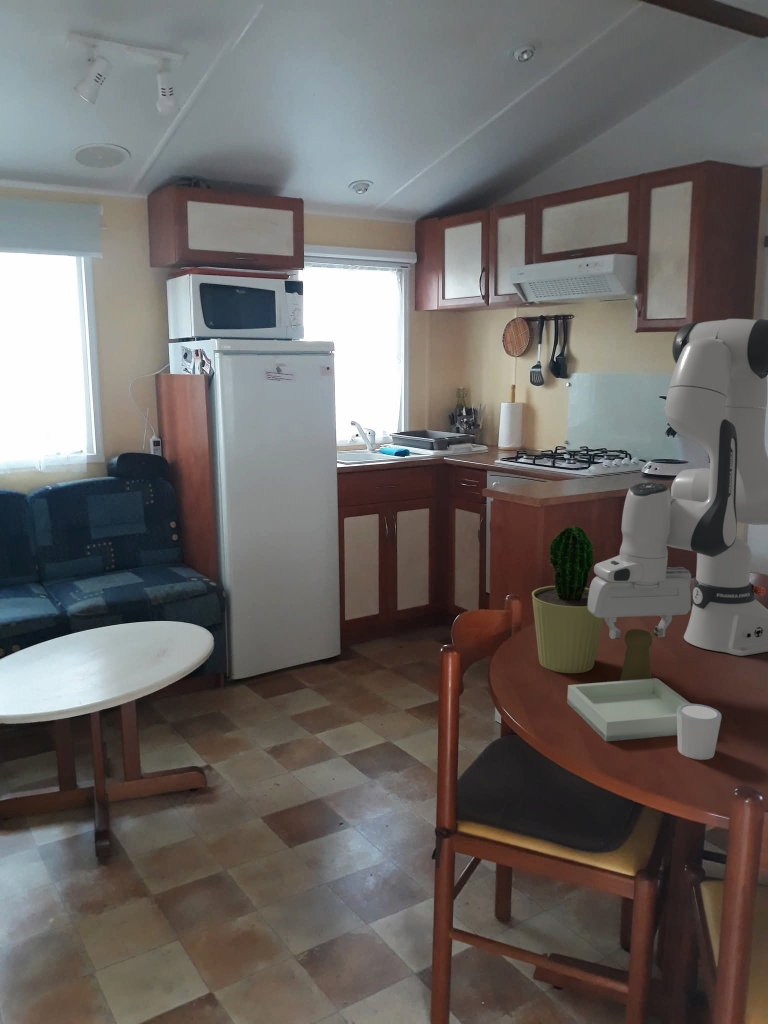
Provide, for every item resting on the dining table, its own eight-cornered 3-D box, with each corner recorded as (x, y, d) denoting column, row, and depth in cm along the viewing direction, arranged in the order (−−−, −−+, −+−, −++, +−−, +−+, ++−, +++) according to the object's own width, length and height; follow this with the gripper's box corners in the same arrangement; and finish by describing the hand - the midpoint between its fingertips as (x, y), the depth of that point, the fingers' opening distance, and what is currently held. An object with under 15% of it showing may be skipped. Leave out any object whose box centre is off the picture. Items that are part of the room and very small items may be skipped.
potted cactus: (578, 647, 185) (584, 514, 179) (618, 671, 171) (627, 528, 165) (516, 654, 180) (521, 518, 174) (552, 681, 166) (559, 533, 160)
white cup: (727, 757, 135) (731, 717, 134) (692, 764, 133) (696, 723, 131) (698, 739, 141) (701, 700, 140) (664, 745, 139) (667, 706, 138)
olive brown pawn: (648, 678, 167) (651, 626, 165) (654, 690, 161) (658, 636, 159) (617, 677, 168) (620, 625, 166) (622, 689, 162) (626, 635, 160)
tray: (655, 695, 159) (656, 678, 158) (702, 732, 144) (704, 713, 143) (567, 702, 156) (568, 685, 155) (605, 741, 140) (606, 722, 140)
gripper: (682, 562, 165) (676, 630, 167) (586, 565, 161) (581, 634, 163) (700, 570, 159) (694, 640, 161) (601, 573, 155) (596, 644, 157)
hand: (636, 637), depth 162 cm, fingers open, 8 cm apart
